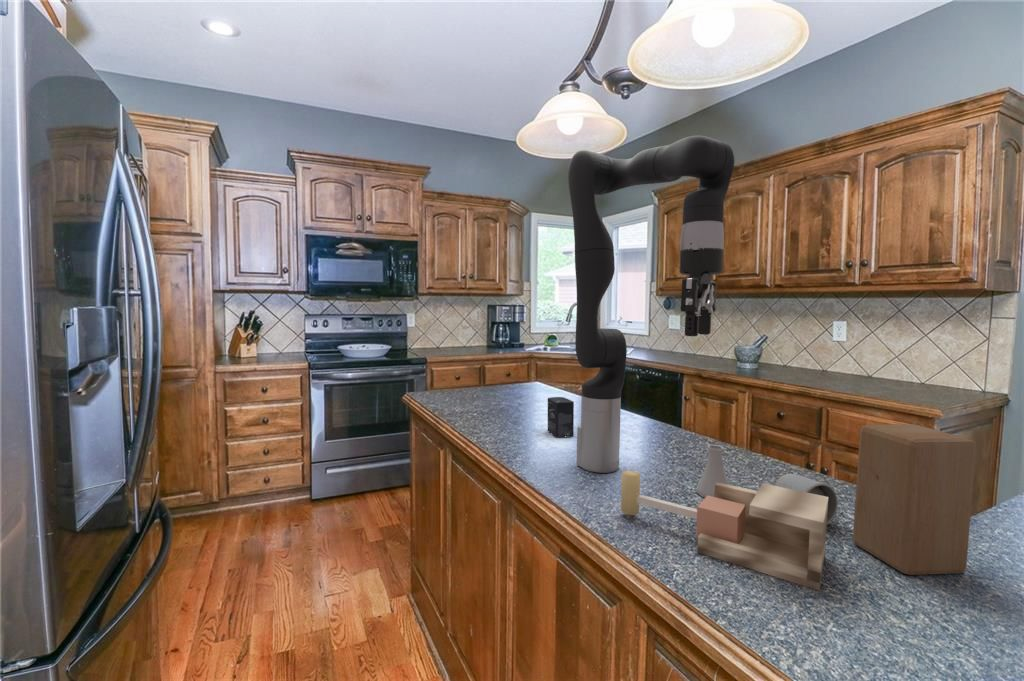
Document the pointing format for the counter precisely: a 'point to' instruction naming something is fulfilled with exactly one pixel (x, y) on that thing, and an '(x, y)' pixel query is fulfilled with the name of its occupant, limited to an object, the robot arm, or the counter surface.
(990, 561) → the counter surface
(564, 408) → the box
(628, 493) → the pull block
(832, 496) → the ceramic mug
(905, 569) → the wooden block
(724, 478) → the flask
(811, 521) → the shelf
